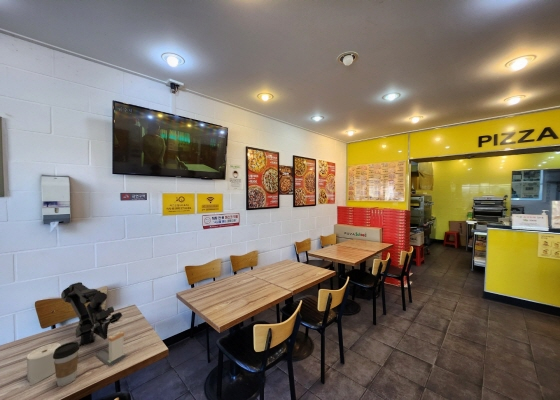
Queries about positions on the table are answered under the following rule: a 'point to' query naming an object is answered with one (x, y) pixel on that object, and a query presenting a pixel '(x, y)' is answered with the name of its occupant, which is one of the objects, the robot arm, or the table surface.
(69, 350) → the coffee cup
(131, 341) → the table surface
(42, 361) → the toilet tissue
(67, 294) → the robot arm
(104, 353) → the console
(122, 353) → the cream box
